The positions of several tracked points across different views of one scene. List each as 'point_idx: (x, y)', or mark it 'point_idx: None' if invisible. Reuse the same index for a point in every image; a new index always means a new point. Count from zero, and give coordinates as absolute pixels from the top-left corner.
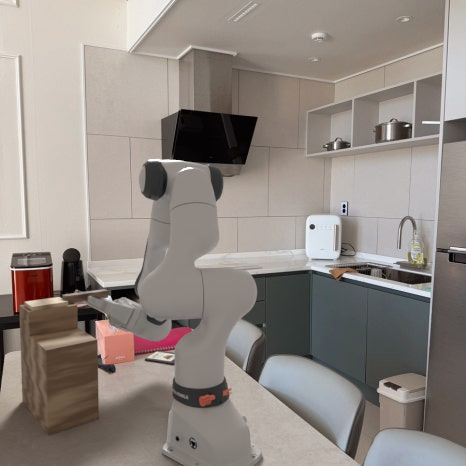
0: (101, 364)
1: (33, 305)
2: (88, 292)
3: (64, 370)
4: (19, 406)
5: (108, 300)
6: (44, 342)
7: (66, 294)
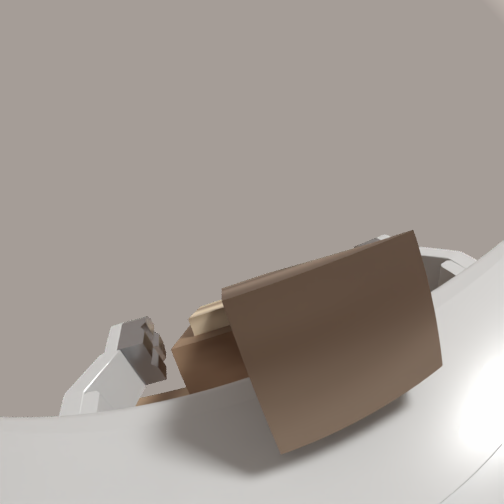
0: None
1: (214, 302)
2: (252, 280)
3: None
4: None
5: (48, 417)
6: (144, 401)
7: (261, 275)
